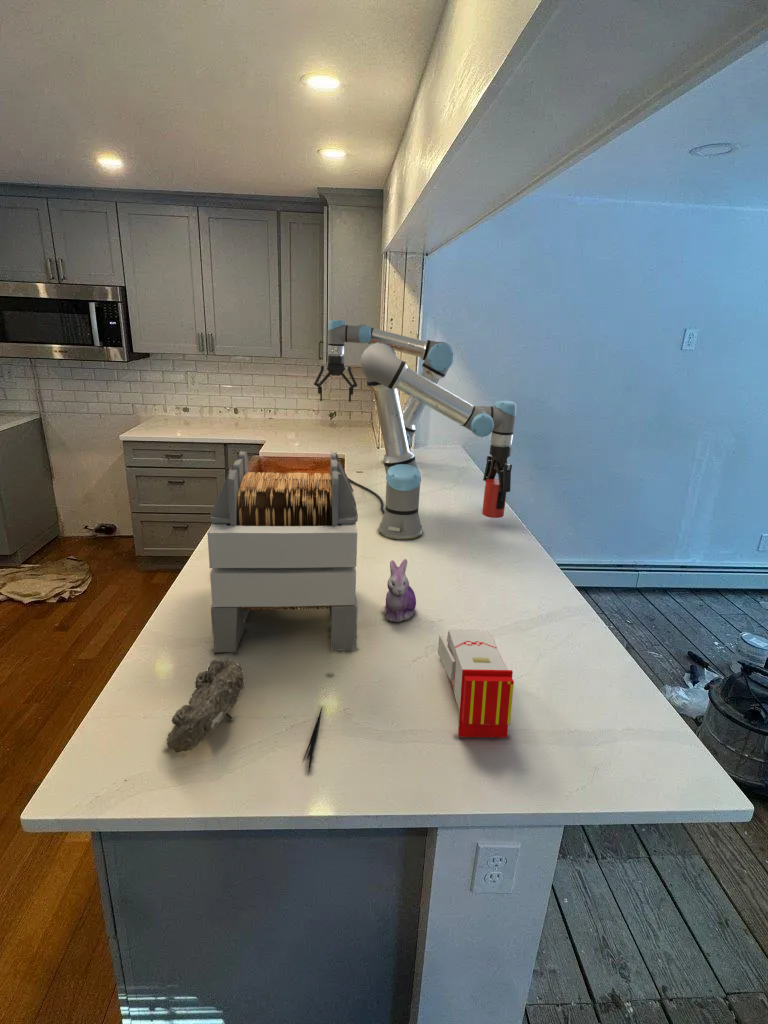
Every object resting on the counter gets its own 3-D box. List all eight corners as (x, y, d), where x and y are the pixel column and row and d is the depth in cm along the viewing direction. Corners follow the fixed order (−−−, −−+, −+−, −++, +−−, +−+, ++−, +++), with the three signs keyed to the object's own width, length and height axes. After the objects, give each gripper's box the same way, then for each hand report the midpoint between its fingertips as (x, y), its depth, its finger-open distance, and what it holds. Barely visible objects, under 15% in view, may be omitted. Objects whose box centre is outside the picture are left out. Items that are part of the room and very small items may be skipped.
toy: (488, 613, 130) (523, 677, 101) (484, 667, 133) (517, 744, 104) (435, 612, 130) (455, 676, 101) (432, 666, 133) (451, 743, 103)
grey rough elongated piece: (192, 660, 117) (244, 628, 112) (224, 691, 120) (276, 661, 115) (142, 746, 98) (202, 712, 93) (182, 779, 101) (242, 748, 96)
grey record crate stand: (232, 584, 158) (225, 442, 144) (349, 583, 162) (353, 444, 148) (211, 655, 127) (198, 480, 113) (357, 651, 130) (362, 482, 117)
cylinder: (482, 517, 209) (486, 483, 204) (481, 509, 216) (485, 477, 212) (504, 518, 208) (509, 485, 204) (502, 511, 216) (506, 479, 211)
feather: (331, 679, 122) (336, 673, 122) (307, 777, 96) (313, 769, 95) (324, 675, 122) (329, 669, 121) (298, 772, 95) (304, 764, 95)
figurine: (392, 627, 141) (395, 572, 136) (374, 608, 149) (376, 556, 144) (425, 619, 145) (429, 566, 140) (405, 601, 154) (408, 550, 149)
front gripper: (526, 451, 195) (517, 513, 203) (495, 438, 214) (488, 495, 221) (507, 452, 193) (499, 514, 201) (478, 438, 211) (471, 496, 219)
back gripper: (308, 354, 258) (308, 401, 265) (363, 356, 261) (362, 403, 268) (309, 353, 265) (309, 399, 272) (362, 355, 268) (360, 400, 275)
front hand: (493, 504), depth 211 cm, fingers closed on cylinder, 8 cm apart
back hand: (335, 401), depth 270 cm, fingers open, 13 cm apart
